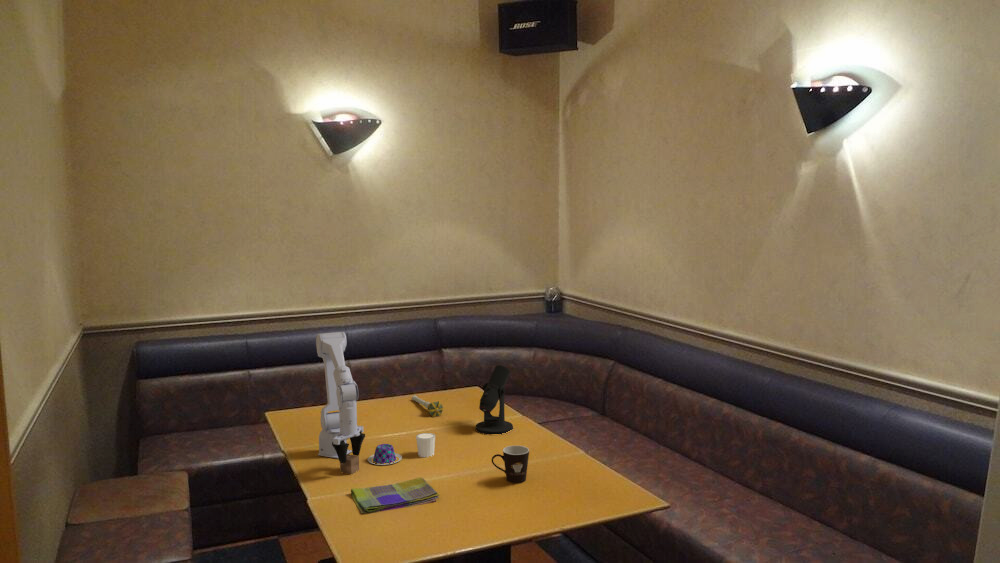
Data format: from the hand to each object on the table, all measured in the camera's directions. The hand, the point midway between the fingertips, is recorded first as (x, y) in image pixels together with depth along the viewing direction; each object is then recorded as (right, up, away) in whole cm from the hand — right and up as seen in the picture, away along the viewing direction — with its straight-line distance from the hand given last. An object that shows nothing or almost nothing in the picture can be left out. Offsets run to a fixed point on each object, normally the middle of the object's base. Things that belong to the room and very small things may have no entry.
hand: (349, 458), depth 245 cm
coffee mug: (+55, -5, -7) cm, 55 cm away
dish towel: (+18, -8, -20) cm, 28 cm away
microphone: (+49, +1, +45) cm, 66 cm away
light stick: (+18, +4, +72) cm, 75 cm away
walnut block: (0, -5, +1) cm, 5 cm away
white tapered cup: (+24, -3, +16) cm, 29 cm away
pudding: (+10, -4, +12) cm, 16 cm away
